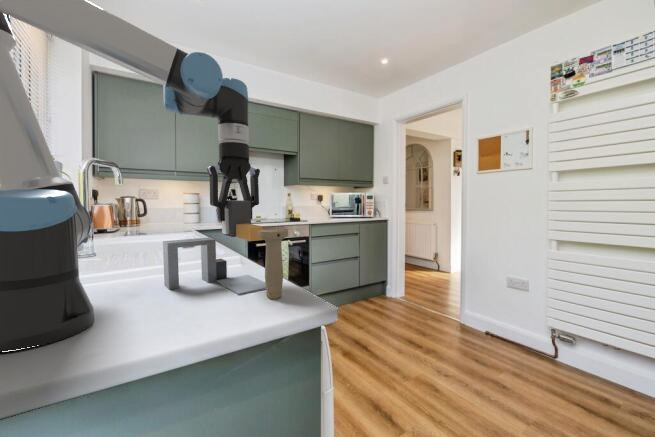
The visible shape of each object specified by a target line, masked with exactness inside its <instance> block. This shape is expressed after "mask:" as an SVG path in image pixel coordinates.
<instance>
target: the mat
mask: <svg viewBox="0 0 655 437" xmlns="http://www.w3.org/2000/svg"><path fill="white" fill-rule="evenodd" d="M215 282H216V283H218V284H219V285H220V286H223V287H225V288H226V289H228V290H229V291H232V292H233V293H234V294H236V295H238V296H240V295H245V294H250V293H255V292H260V291H262V290H266V283H265V281H263V280H261V279H259V278H256V277H254V276H252V275H249V274H245V275H239V276H234V277H227V279H221V280H216V281H215Z"/></svg>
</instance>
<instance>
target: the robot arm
mask: <svg viewBox="0 0 655 437" xmlns="http://www.w3.org/2000/svg"><path fill="white" fill-rule="evenodd" d="M11 17H12V18H14V19H16V20H18V21H20V22H23V23H25V24H27V25H29V26H31V27H34V28H36V29H38V30H40V31H42V32H45V33H47V34H49V35H51V36H54V37H56V38H58V39H59V40H63V41H65V42H67V43H69V44H71V45H74V46H76V47H78V48H80V49H83V50H84V51H87V52H88V53H91V54H93V55H96V56H98V57H100V58H102V59H105V60H107V61H108V62H111V63H114V64H116V65H118V66H120V67H122V68H125V69H127V70H129V71H131V72H134V73H135V74H138V75H140V76H143V77H145V78H147V79H148V80H152V81H154V82H156V83H158V84H161V85H162V88H163V89H162V95H163V98H162V99H163V108H164V109H165V110H166V112H169V113H174V114H175V113H176V114H179V115H189V116H196V117H197V116H198V117H204V118H211V119H212V118H213V119H215V118H216V119H217V126H218V127H217V128H218V132H217V134H218V136H217V137H218V140H217V141H218V142H219V144H218V159H219V160H218V162H217V164H215V165H210V166H207V168H206V172H207V173H208V175H209V204H210V206H212V207H215V208H217V216H218V217H217V218H218V219H217V220H218V221H219V222H221V232H222V234H229V214H228V209H227V208H225V206H226V201H228V197H229V192H230V188H231V184H232V182H233V180H236V181H237V183H238V185H239V188H240V192H241V196H242V200H244V201H251V220H252V219H253V208H255V206H259V204H260V196H259V195H260V192H259V191H260V190H259V189H260V188H259V176H260V173H261V170H260V169H259V168H254V167H252V166H251V163H250V145H249V142H250V135H249V134H250V132H249V93H248V86H247V85H246V83H245V82H244V81H242V80H241V79H237V78H235V77H230V78H228V77H224V76H223V70H222V69H221V66H220V65H219V63H218V61H217V60H215V58H214V57H213V56H211V55H209V54H207V53H206V52H202V51H201V52H200V51H194V52H190V53H187V52H186V51H183V50H182V49H180V48H178V47H177V46H176V47H175V46H174V45H173V44H170V43H169V42H166V41H164V40H163V39H160V38H159V37H157V36H155V35H153V34H152V33H150V32H147V31H146V30H144V29H141V28H140V27H138V26H136V25H134V24H132V23H130V22H128V21H127V20H124V19H123V18H120V17H119V16H116V15H115V14H113V13H111V12H109V11H108V10H105V9H104V8H101V7H100V6H97V5H96V4H94V3H92V2H91V1H88V0H0V352H2V351H8V350H16V349H21V348H27V347H32V346H37V345H42V346H44V345H43V344H45V345H48V344H47V343H49V344H52V343H55V342H57V341H58V342H59V341H60V340H64V339H66V338H69V337H72V336H74V335H76V334H78V333H80V332H83V331H84V330H86V329H87V328H89V327H90V326H91V325H92V324H93V323H94V321H95V312H94V311H95V310H94V306H93V304H92V302H91V300H90V298H89V296H88V293H87V292H86V290H85V287H84V286H83V284H82V282H81V280H80V279H81V278H80V273H79V272H80V271H79V253H78V252H79V251H78V248H79V246H81V245H82V244H83V243H84V242H85V241H86V240H87V239H88V237H89V235H90V233H91V229H92V218H91V215H90V213H89V211H88V210H87V208H86V207H85V206H83V204H82V203H81V200H80V198H79V195H78V192H77V190H76V187H75V186H74V183H73V182H72V181H71V180H68V179H66V178H63V177H62V176H61V175H60V172H59V170H58V168H57V166H56V163H55V161H54V158H53V156H52V154H51V151H50V148H49V146H48V142H47V140H46V138H45V136H44V133H43V130H42V128H41V126H40V124H39V121H38V119H37V116H36V113H35V111H34V109H33V106H32V103H31V102H30V99H29V97H28V94H27V92H26V89H25V87H24V84H23V82H22V79H21V77H20V74H19V71H18V69H17V67H16V64H15V62H14V59H13V57H12V54H11V51H12V50H13V49H14V48H15V47H16V46H17V40H16V37H15V35H14V32H13V30H12V27H11V24H12V22H11ZM219 172H220V173H221V174H222V176H223V177H222V181H221V182H222V183H221V187H220V191H219V175H218V174H219ZM248 173H249V175H250V176H249V178H250V179H249V181H250V187H249V184H248V176H247V174H248Z"/></svg>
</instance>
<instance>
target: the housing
mask: <svg viewBox="0 0 655 437" xmlns="http://www.w3.org/2000/svg"><path fill="white" fill-rule="evenodd" d="M216 242H217V241H216V238H212V237H201V238H187V239H175V240H164V241H162V253H163V254H162V256H163V258H162V259H163V278H164V279H163V280H164V282H163V284H164V286H165V287H166V288H167V289H168V290H169V291H170V290H175V289H179V288H180V278H179V277H180V275H179V251H178V250H179V248H188V247H197V246H200V254H201V256H200V258H201V260H200V261H201V263H200V264H201V280H203V281H205V282H207V283H214V282H216V280H221V279H227V278H228V270H227V269H228V267H227V266H228V265H227V263H228V262H227V260H225V259H223V258H217V249H216V248H217V247H216V246H217V244H216Z"/></svg>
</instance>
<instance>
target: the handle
mask: <svg viewBox="0 0 655 437" xmlns="http://www.w3.org/2000/svg"><path fill="white" fill-rule="evenodd" d="M288 236H289V230H288V229H286V228H274V229H263V230H260V231H259V237H260V238H262V239H263V240H264V241H265V259H264V260H265V261H264V262H265V265H264V279H265V281H264V282H265V283H266V289H265V290H266V294H265V295H266V297H267V299H271V300H273V299H274V300H277V299H279V298H281V297H282V295H283V290H282V289H283V284H284V283H283V282H284V268H283V267H284V266H283V264H284V263H283V253H282V252H283V250H282V241H283V239H285V238H287V237H288Z"/></svg>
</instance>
